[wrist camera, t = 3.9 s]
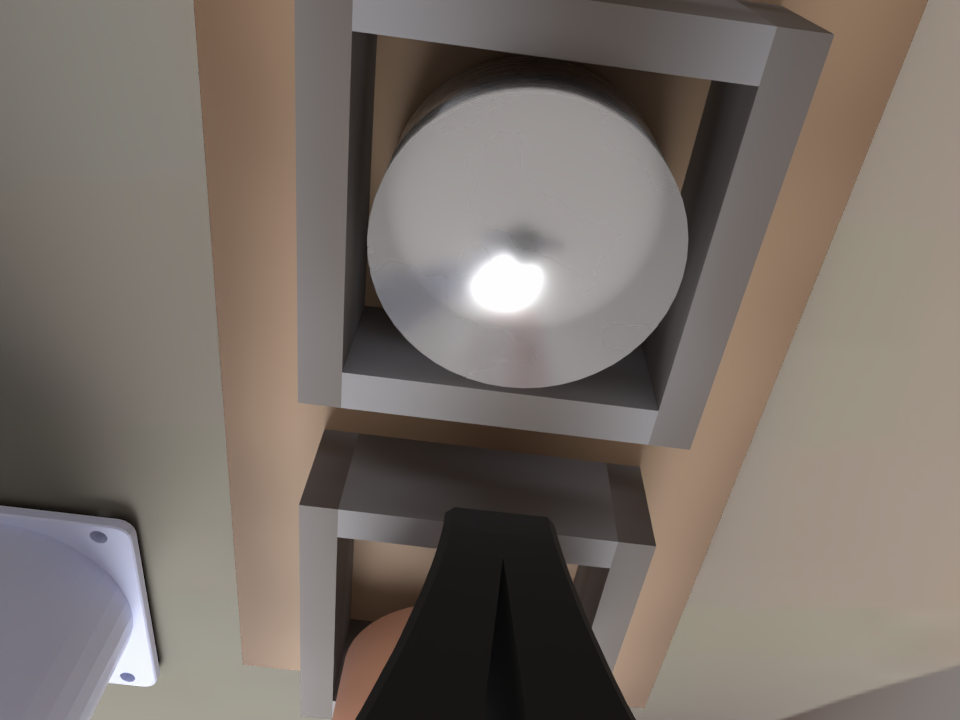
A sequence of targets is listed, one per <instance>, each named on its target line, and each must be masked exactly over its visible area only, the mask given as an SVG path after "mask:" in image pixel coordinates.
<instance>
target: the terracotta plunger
mask: <svg viewBox="0 0 960 720" xmlns="http://www.w3.org/2000/svg"><path fill="white" fill-rule="evenodd" d="M413 607H414V606H413ZM413 607H408V608H405V609H402V610H399V611H395V612H393V613H390V614H388V615H386V616H384V617H381V618H380V619H378V620H376V621H375V622H373V623H371V624H370V625H369V626H367V627H366V628H365V629H364V630H362V631H361V632H360V633H359V634H358V636H357V637H356V638H355V639H354V640H353V642H352V644H351V645H350V647H349V649H348V651H347V654H346V657H345V661H344V666H343V670H342V675H341V680H340V684H339V689H338V694H337V698H336V703H335V708H334V712H333V717H332V720H355V719H356V717H357V715H358V714H359V712H360V710H361V708H362V707H363V705H364V703H365V701H366V699H367V698H368V696H369V694H370V692H371V690H372V688H373V687H374V685H375V683H376V681H377V679H378V677H379V676H380V674H381V672H382V670H383V668H384V666H385V665H386V663H387V661H388V659H389V657H390V655H391V654H392V652H393V650H394V648H395V646H396V644H397V642H398V640H399V638H400V636H401V633H402V631H403V629H404V627H405V625H406V623H407V620H408V618H409V616H410V614H411V612H412V610H413Z"/></svg>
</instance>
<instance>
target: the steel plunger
mask: <svg viewBox="0 0 960 720" xmlns="http://www.w3.org/2000/svg"><path fill="white" fill-rule="evenodd" d="M367 252H368V262H369V267H370V273H371V277H372V280H373V284H374V287H375V290H376V293H377V295H378V297H379V299H380V301H381V304H382V306H383V308H384V310H385V311H386V313H387V314H388V316H389V318H390V319H391V321H392V322H393V324H394V325H395V326H396V328H397V329H398V330H399V331H400V332H401V333H402V335H403V336H404V337H405V338H406V339H407V340H408V341H409V342H410V343H411V344H412V345H413V346H414V347H415V348H416V349H418V350H419V351H420V352H421V353H422V354H424V355H425V356H427V357H428V358H429V359H431V360H432V361H433V362H435V363H437V364H439V365H440V366H442V367H444V368H446V369H447V370H449V371H451V372H454V373H456V374H458V375H461V376H463V377H466V378H468V379H471V380H475V381H478V382H482V383H485V384H490V385H496V386H501V387H512V388H542V387H548V386H555V385H561V384H565V383H569V382H573V381H577V380H580V379H582V378H585V377H588V376H590V375H593V374H596V373H598V372H600V371H602V370H604V369H605V368H607V367H609V366H611V365H613V364H615V363H616V362H618V361H619V360H621V359H622V358H624V357H625V356H627V355H628V354H630V353H631V352H632V351H633V350H634V349H635V348H637V347H638V346H639V345H640V344H641V343H642V342H644V340H645V339H646V338H647V337H648V336H649V335H650V334H651V333H652V332H653V331H654V330H655V328H656V327H657V326H658V324H659V323H660V322H661V320H662V319H663V317H664V316H665V315H666V313H667V312H668V310H669V308H670V306H671V304H672V302H673V300H674V299H675V297H676V295H677V292H678V289H679V286H680V284H681V281H682V278H683V274H684V270H685V265H686V261H687V252H688V226H687V217H686V212H685V208H684V203H683V199H682V197H681V194H680V191H679V189H678V186H677V184H676V181H675V179H674V177H673V175H672V173H671V171H670V169H669V167H668V165H667V163H666V161H665V159H664V157H663V155H662V153H661V151H660V149H659V147H658V145H657V143H656V141H655V139H654V137H653V135H652V133H651V131H650V129H649V127H648V126H647V124H646V122H645V120H644V118H643V117H642V115H641V114H640V112H639V111H638V110H637V108H636V107H635V106H634V105H633V103H632V102H631V101H630V100H629V99H628V98H627V97H626V96H625V95H624V94H623V93H622V92H621V91H620V90H619V89H618V88H617V87H616V86H614V85H613V84H611V83H610V82H609V81H607V80H606V79H604V78H603V77H602V76H600V75H598V74H596V73H594V72H592V71H590V70H588V69H587V68H585V67H582V66H579V65H576V64H574V63H571V62H568V61H564V60H559V59H554V58H546V57H539V56H516V57H506V58H501V59H497V60H492V61H488V62H485V63H482V64H479V65H477V66H474V67H471V68H469V69H467V70H465V71H463V72H461V73H459V74H457V75H456V76H454V77H452V78H451V79H449V80H448V81H447V82H445V83H444V84H442V85H441V86H439V87H438V88H437V89H436V90H435V91H434V92H433V93H432V94H431V95H429V96H428V97H427V98H426V99H425V100H424V101H423V103H422V104H421V105H420V106H419V107H418V109H417V110H416V111H415V112H414V114H413V115H412V117H411V118H410V120H409V122H408V123H407V125H406V127H405V128H404V130H403V132H402V134H401V137H400V139H399V141H398V144H397V146H396V148H395V151H394V153H393V155H392V158H391V160H390V163H389V165H388V167H387V170H386V172H385V175H384V177H383V179H382V182H381V184H380V187H379V189H378V191H377V194H376V196H375V199H374V202H373V206H372V210H371V214H370V217H369V225H368V234H367Z"/></svg>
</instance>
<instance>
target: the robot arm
mask: <svg viewBox="0 0 960 720" xmlns="http://www.w3.org/2000/svg"><path fill="white" fill-rule="evenodd" d="M101 532H102V533H101ZM159 674H160V669H159V663H158V657H157V652H156V646H155V640H154V634H153V628H152V622H151V616H150V610H149V604H148V599H147V593H146V587H145V581H144V575H143V569H142V563H141V557H140V551H139V545H138V540H137V534H136V531H135V528H134V527H133V526H132V525H131V524H130V523H128V522H126V521H125V520H121V519H114V518H105V517H96V516H88V515H79V514H70V513H62V512H53V511H44V510H35V509H27V508H18V507H9V506H0V720H90V719H91V717H92V715H93V713H94V711H95V709H96V707H97V705H98V702H99V700H100V698H101V696H102V694H103V692H104V690H105V688H106V686H107V684H108V683H116V684H125V685H134V686H151V685H154V684H155V683H156V681H157V679H158V677H159ZM355 720H636V719H635V718H634V716H633V714H632V712H631V710H630V708H629V706H628V704H627V702H626V700H625V698H624V696H623V694H622V692H621V690H620V688H619V686H618V684H617V682H616V680H615V678H614V676H613V674H612V672H611V669H610V667H609V665H608V663H607V661H606V659H605V656H604V654H603V652H602V650H601V648H600V645H599V643H598V641H597V639H596V637H595V634H594V632H593V630H592V628H591V625H590V623H589V621H588V618H587V616H586V614H585V611H584V609H583V606H582V604H581V601H580V599H579V596H578V594H577V591H576V589H575V586H574V584H573V581H572V578H571V576H570V573H569V570H568V567H567V565H566V562H565V559H564V556H563V553H562V550H561V546H560V543H559V540H558V537H557V533H556V529H555V526H554V524H553V523H552V522H551V520H550V519H549V518H548V517H542V516H533V515H524V514H514V513H505V512H496V511H487V510H477V509H468V508H459V507H454V508H452V509H451V510H449V511H447V512H445V516H444V523H443V528H442V532H441V536H440V540H439V543H438V547H437V550H436V553H435V556H434V559H433V562H432V564H431V567H430V570H429V572H428V575H427V577H426V580H425V582H424V585H423V587H422V590H421V592H420V594H419V597H418V599H417V601H416V603H415V605H414V607H413V610H412V612H411V614H410V616H409V618H408V620H407V623H406V625H405V627H404V629H403V631H402V633H401V636H400V638H399V640H398V642H397V644H396V646H395V648H394V650H393V652H392V654H391V655H390V657H389V659H388V661H387V663H386V665H385V666H384V668H383V670H382V672H381V674H380V676H379V677H378V679H377V681H376V683H375V685H374V687H373V688H372V690H371V692H370V694H369V696H368V698H367V699H366V701H365V703H364V705H363V707H362V708H361V710H360V712H359V714H358V715H357V717H356V719H355Z"/></svg>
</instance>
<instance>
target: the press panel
mask: <svg viewBox="0 0 960 720" xmlns="http://www.w3.org/2000/svg"><path fill="white" fill-rule="evenodd" d="M927 2H928V0H194V13H195V26H196V40H197V53H198V67H199V80H200V94H201V107H202V121H203V134H204V148H205V161H206V175H207V188H208V202H209V215H210V229H211V242H212V256H213V269H214V283H215V296H216V310H217V323H218V337H219V350H220V364H221V377H222V390H223V404H224V417H225V431H226V444H227V458H228V471H229V485H230V498H231V512H232V525H233V539H234V552H235V566H236V579H237V593H238V606H239V620H240V633H241V647H242V660H243V665H252V666H261V667H270V668H279V669H288V670H298V671H300V684H301V716H304V717H313V718H323V719H332V717H333V712H334V708H335V703H336V698H337V694H338V689H339V684H340V680H341V675H342V670H343V666H344V661H345V657H346V654H347V651H348V649H349V647H350V645H351V644H352V642H353V640H354V639H355V638H356V637H357V636H358V634H359V633H360V632H361V631H362V630H364V629H365V628H366V627H367V626H369V625H370V624H371V623H373V622H375V621H376V620H378V619H380V618H381V617H384V616H386V615H388V614H390V613H393V612H395V611H399V610H402V609H405V608H408V607H413V606H414V605H415V603H416V601H417V599H418V597H419V594H420V592H421V590H422V587H423V585H424V582H425V580H426V577H427V575H428V572H429V570H430V567H431V564H432V562H433V559H434V556H435V553H436V550H437V547H438V543H439V540H440V536H441V532H442V528H443V523H444V516H445V512H447V511H449V510H451V509H452V508H454V507H459V508H468V509H477V510H487V511H496V512H505V513H514V514H524V515H533V516H542V517H548V518H549V519H550V520H551V522H552V523H553V524H554V526H555V529H556V533H557V537H558V540H559V543H560V546H561V550H562V553H563V556H564V559H565V562H566V565H567V567H568V570H569V573H570V576H571V578H572V581H573V584H574V586H575V589H576V591H577V594H578V596H579V599H580V601H581V604H582V606H583V609H584V611H585V614H586V616H587V618H588V621H589V623H590V625H591V628H592V630H593V632H594V634H595V637H596V639H597V641H598V643H599V645H600V648H601V650H602V652H603V654H604V656H605V659H606V661H607V663H608V665H609V667H610V669H611V672H612V674H613V676H614V678H615V680H616V682H617V684H618V686H619V688H620V690H621V692H622V694H623V696H624V698H625V700H626V702H627V704H628V706H629V707H637V708H644V707H645V705H646V703H647V700H648V698H649V695H650V693H651V690H652V688H653V685H654V683H655V680H656V678H657V675H658V673H659V670H660V668H661V665H662V663H663V660H664V658H665V655H666V653H667V650H668V648H669V645H670V643H671V640H672V638H673V635H674V633H675V630H676V628H677V625H678V623H679V620H680V618H681V615H682V613H683V610H684V608H685V605H686V603H687V600H688V598H689V595H690V593H691V590H692V588H693V585H694V583H695V580H696V578H697V575H698V573H699V570H700V568H701V565H702V563H703V560H704V558H705V555H706V553H707V550H708V548H709V545H710V543H711V540H712V538H713V535H714V533H715V530H716V528H717V526H718V523H719V521H720V518H721V516H722V513H723V511H724V508H725V506H726V503H727V501H728V498H729V496H730V493H731V491H732V488H733V486H734V483H735V481H736V478H737V476H738V473H739V471H740V468H741V466H742V463H743V461H744V458H745V456H746V453H747V451H748V448H749V446H750V443H751V441H752V438H753V436H754V433H755V431H756V428H757V426H758V423H759V421H760V418H761V416H762V413H763V411H764V408H765V406H766V403H767V401H768V398H769V396H770V393H771V391H772V388H773V386H774V383H775V381H776V378H777V376H778V373H779V371H780V368H781V366H782V363H783V361H784V358H785V356H786V354H787V351H788V349H789V346H790V344H791V341H792V339H793V336H794V334H795V331H796V329H797V326H798V324H799V321H800V319H801V316H802V314H803V311H804V309H805V306H806V304H807V301H808V299H809V296H810V294H811V291H812V289H813V286H814V284H815V281H816V279H817V276H818V274H819V271H820V269H821V266H822V264H823V261H824V259H825V256H826V254H827V251H828V249H829V246H830V244H831V241H832V239H833V236H834V234H835V231H836V229H837V226H838V224H839V221H840V219H841V216H842V214H843V211H844V209H845V206H846V204H847V201H848V199H849V196H850V194H851V191H852V189H853V186H854V184H855V181H856V179H857V177H858V174H859V172H860V169H861V167H862V164H863V162H864V159H865V157H866V154H867V152H868V149H869V147H870V144H871V142H872V139H873V137H874V134H875V132H876V129H877V127H878V124H879V122H880V119H881V117H882V114H883V112H884V109H885V107H886V104H887V102H888V99H889V97H890V94H891V92H892V89H893V87H894V84H895V82H896V79H897V77H898V74H899V72H900V69H901V67H902V64H903V62H904V59H905V57H906V54H907V52H908V49H909V47H910V44H911V42H912V39H913V37H914V34H915V32H916V29H917V27H918V24H919V22H920V19H921V17H922V14H923V12H924V9H925V7H926V4H927ZM516 56H539V57H546V58H554V59H559V60H564V61H568V62H571V63H574V64H576V65H579V66H582V67H585V68H587V69H588V70H590V71H592V72H594V73H596V74H598V75H600V76H602V77H603V78H604V79H606V80H607V81H609V82H610V83H611V84H613V85H614V86H616V87H617V88H618V89H619V90H620V91H621V92H622V93H623V94H624V95H625V96H626V97H627V98H628V99H629V100H630V101H631V102H632V103H633V105H634V106H635V107H636V108H637V110H638V111H639V112H640V114H641V115H642V117H643V118H644V120H645V122H646V124H647V126H648V127H649V129H650V131H651V133H652V135H653V137H654V139H655V141H656V143H657V145H658V147H659V149H660V151H661V153H662V155H663V157H664V159H665V161H666V163H667V165H668V167H669V169H670V171H671V173H672V175H673V177H674V179H675V181H676V184H677V186H678V189H679V191H680V194H681V197H682V199H683V203H684V208H685V212H686V217H687V226H688V252H687V261H686V265H685V270H684V274H683V278H682V281H681V284H680V286H679V289H678V292H677V295H676V297H675V299H674V300H673V302H672V304H671V306H670V308H669V310H668V312H667V313H666V315H665V316H664V317H663V319H662V320H661V322H660V323H659V324H658V326H657V327H656V328H655V330H654V331H653V332H652V333H651V334H650V335H649V336H648V337H647V338H646V339H645V340H644V342H642V343H641V344H640V345H639V346H638V347H637V348H635V349H634V350H633V351H632V352H631V353H630V354H628V355H627V356H625V357H624V358H622V359H621V360H619V361H618V362H616V363H615V364H613V365H611V366H609V367H607V368H605V369H604V370H602V371H600V372H598V373H596V374H593V375H590V376H588V377H585V378H582V379H580V380H577V381H573V382H569V383H565V384H561V385H555V386H548V387H542V388H512V387H501V386H496V385H490V384H485V383H482V382H478V381H475V380H471V379H468V378H466V377H463V376H461V375H458V374H456V373H454V372H451V371H449V370H447V369H446V368H444V367H442V366H440V365H439V364H437V363H435V362H433V361H432V360H431V359H429V358H428V357H427V356H425V355H424V354H422V353H421V352H420V351H419V350H418V349H416V348H415V347H414V346H413V345H412V344H411V343H410V342H409V341H408V340H407V339H406V338H405V337H404V336H403V335H402V333H401V332H400V331H399V330H398V329H397V328H396V326H395V325H394V324H393V322H392V321H391V319H390V318H389V316H388V314H387V313H386V311H385V310H384V308H383V306H382V304H381V301H380V299H379V297H378V295H377V293H376V290H375V287H374V284H373V280H372V277H371V273H370V267H369V262H368V252H367V234H368V225H369V217H370V214H371V210H372V206H373V202H374V199H375V196H376V194H377V191H378V189H379V187H380V184H381V182H382V179H383V177H384V175H385V172H386V170H387V167H388V165H389V163H390V160H391V158H392V155H393V153H394V151H395V148H396V146H397V144H398V141H399V139H400V137H401V134H402V132H403V130H404V128H405V127H406V125H407V123H408V122H409V120H410V118H411V117H412V115H413V114H414V112H415V111H416V110H417V109H418V107H419V106H420V105H421V104H422V103H423V101H424V100H425V99H426V98H427V97H428V96H429V95H431V94H432V93H433V92H434V91H435V90H436V89H437V88H438V87H439V86H441V85H442V84H444V83H445V82H447V81H448V80H449V79H451V78H452V77H454V76H456V75H457V74H459V73H461V72H463V71H465V70H467V69H469V68H471V67H474V66H477V65H479V64H482V63H485V62H488V61H492V60H497V59H501V58H506V57H516Z"/></svg>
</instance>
